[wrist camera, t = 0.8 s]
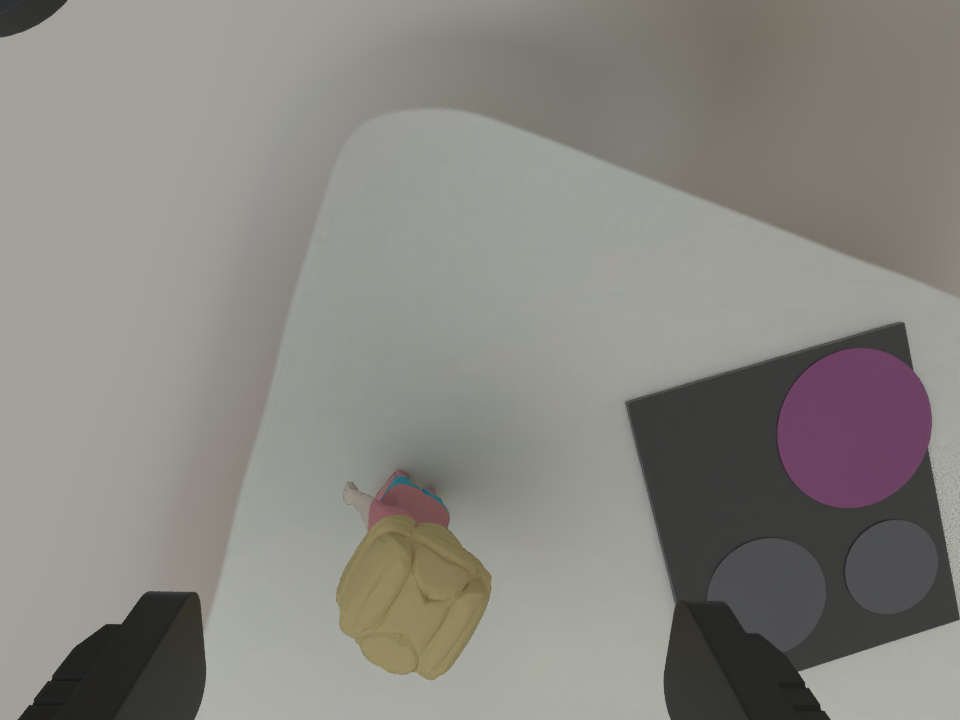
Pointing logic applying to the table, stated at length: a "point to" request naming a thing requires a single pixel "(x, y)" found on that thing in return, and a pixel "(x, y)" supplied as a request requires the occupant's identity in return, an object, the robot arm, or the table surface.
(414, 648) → the toy
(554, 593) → the table surface
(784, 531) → the hob
